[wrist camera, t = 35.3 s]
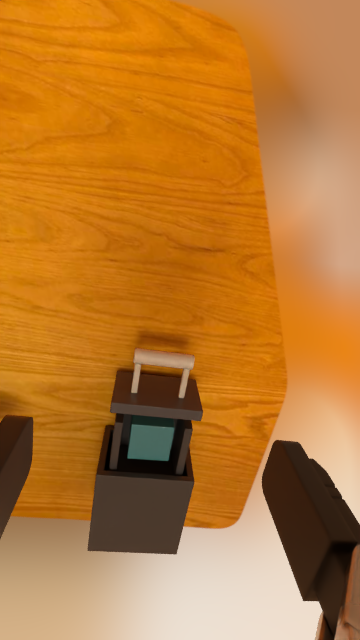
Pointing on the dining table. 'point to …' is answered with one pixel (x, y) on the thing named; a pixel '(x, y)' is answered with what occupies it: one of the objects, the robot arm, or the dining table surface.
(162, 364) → the drawer
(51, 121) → the dining table surface
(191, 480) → the cabinet
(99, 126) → the dining table surface
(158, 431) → the block
